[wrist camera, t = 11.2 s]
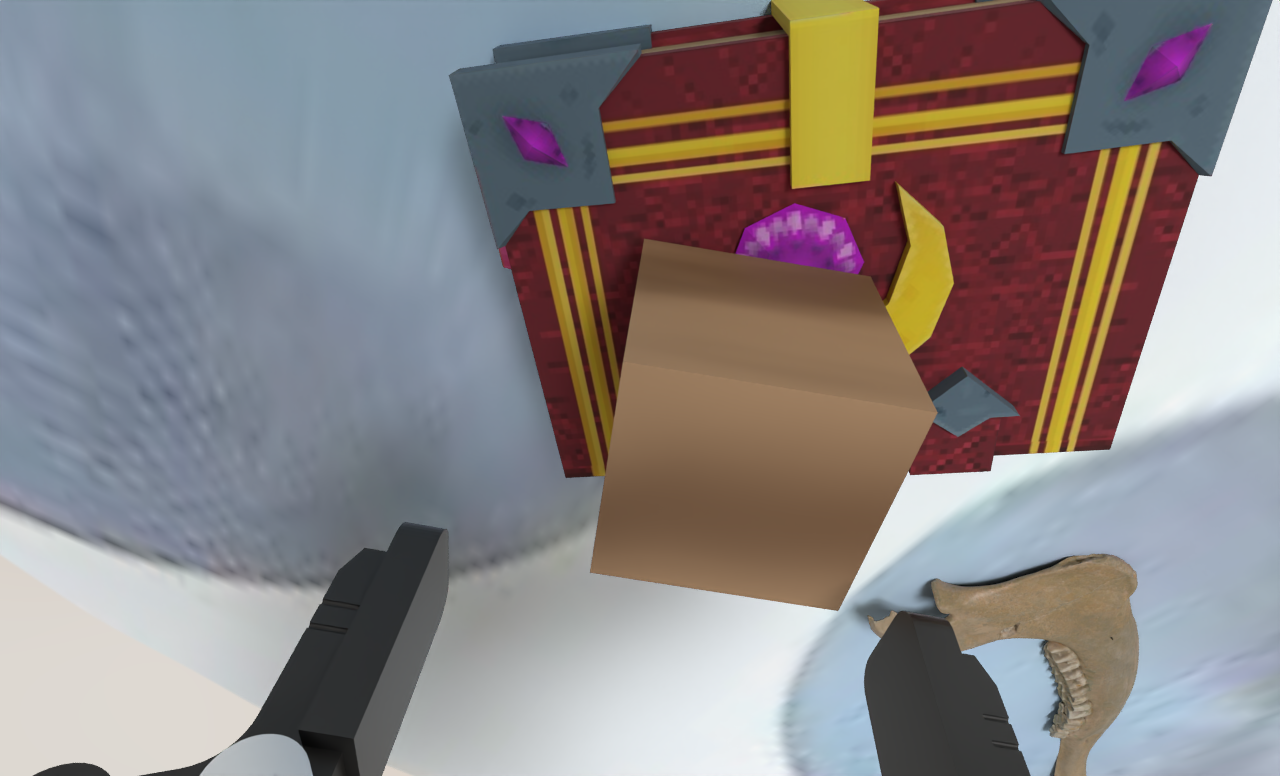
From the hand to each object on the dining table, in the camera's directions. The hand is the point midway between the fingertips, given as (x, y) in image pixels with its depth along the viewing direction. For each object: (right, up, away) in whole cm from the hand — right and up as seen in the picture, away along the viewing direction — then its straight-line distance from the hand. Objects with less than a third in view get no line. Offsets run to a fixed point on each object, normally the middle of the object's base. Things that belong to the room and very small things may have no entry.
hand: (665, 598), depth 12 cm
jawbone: (+16, -10, +19) cm, 27 cm away
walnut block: (+2, +5, +4) cm, 6 cm away
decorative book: (+4, +9, +7) cm, 12 cm away
